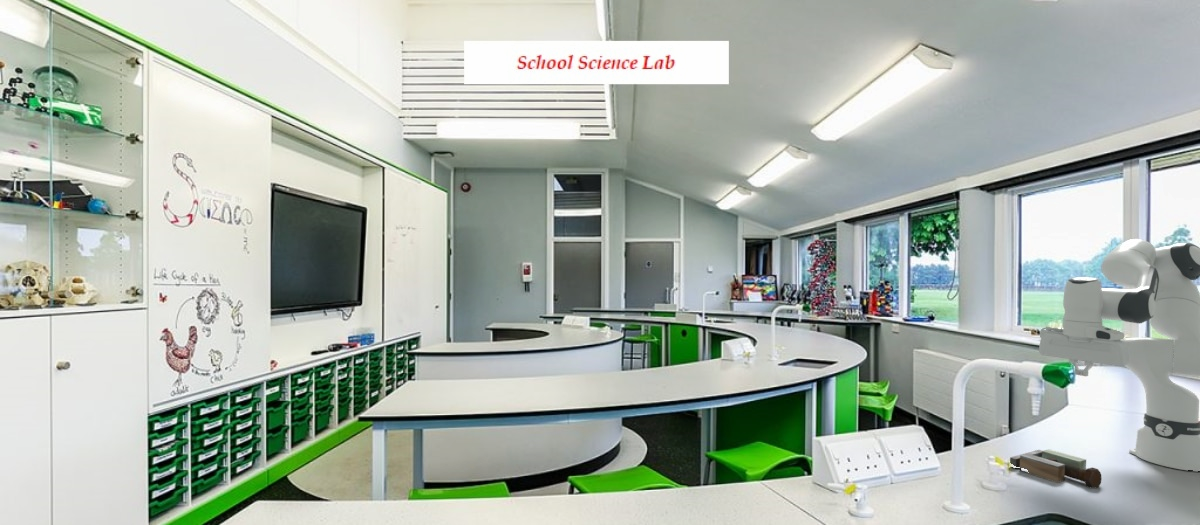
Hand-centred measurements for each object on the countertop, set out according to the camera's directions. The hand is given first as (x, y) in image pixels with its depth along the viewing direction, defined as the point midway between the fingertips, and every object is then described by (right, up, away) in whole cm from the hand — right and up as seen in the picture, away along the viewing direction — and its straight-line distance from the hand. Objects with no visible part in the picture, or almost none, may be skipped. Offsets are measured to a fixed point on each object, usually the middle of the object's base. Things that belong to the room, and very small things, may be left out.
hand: (1080, 375), depth 156 cm
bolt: (-13, -28, -8) cm, 32 cm away
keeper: (-14, -27, -4) cm, 31 cm away
